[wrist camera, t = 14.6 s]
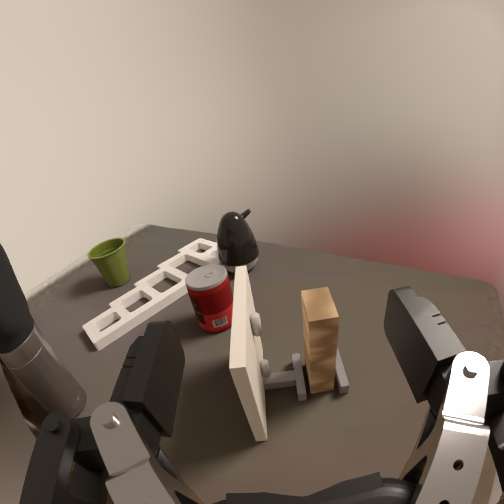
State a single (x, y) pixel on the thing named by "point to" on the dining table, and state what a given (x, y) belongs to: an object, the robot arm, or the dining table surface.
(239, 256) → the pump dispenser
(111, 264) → the plant pot
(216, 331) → the canned food
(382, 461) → the dining table surface
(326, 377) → the tall wooden block
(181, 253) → the holder
